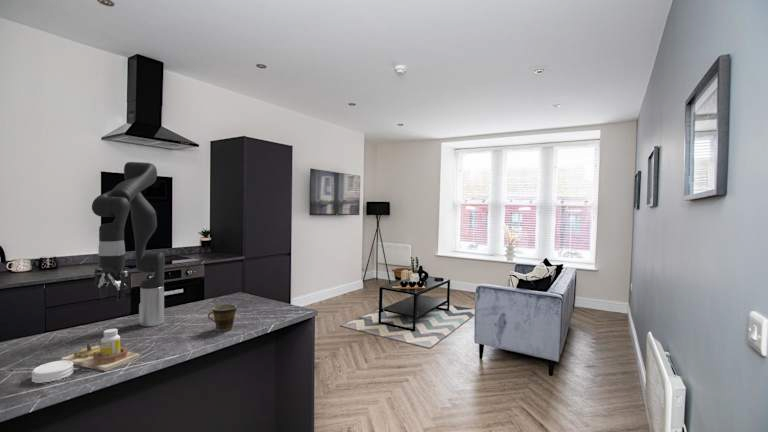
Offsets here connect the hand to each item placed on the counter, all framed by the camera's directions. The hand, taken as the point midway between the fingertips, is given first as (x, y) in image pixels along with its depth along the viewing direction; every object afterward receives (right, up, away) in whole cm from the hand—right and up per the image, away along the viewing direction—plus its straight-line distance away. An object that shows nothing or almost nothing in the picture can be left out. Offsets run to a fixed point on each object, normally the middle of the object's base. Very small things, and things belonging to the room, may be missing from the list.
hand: (112, 298), depth 128 cm
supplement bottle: (-1, -21, 0) cm, 21 cm away
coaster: (-10, -23, -11) cm, 28 cm away
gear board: (-5, -22, +2) cm, 23 cm away
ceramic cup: (+24, -22, +33) cm, 46 cm away
